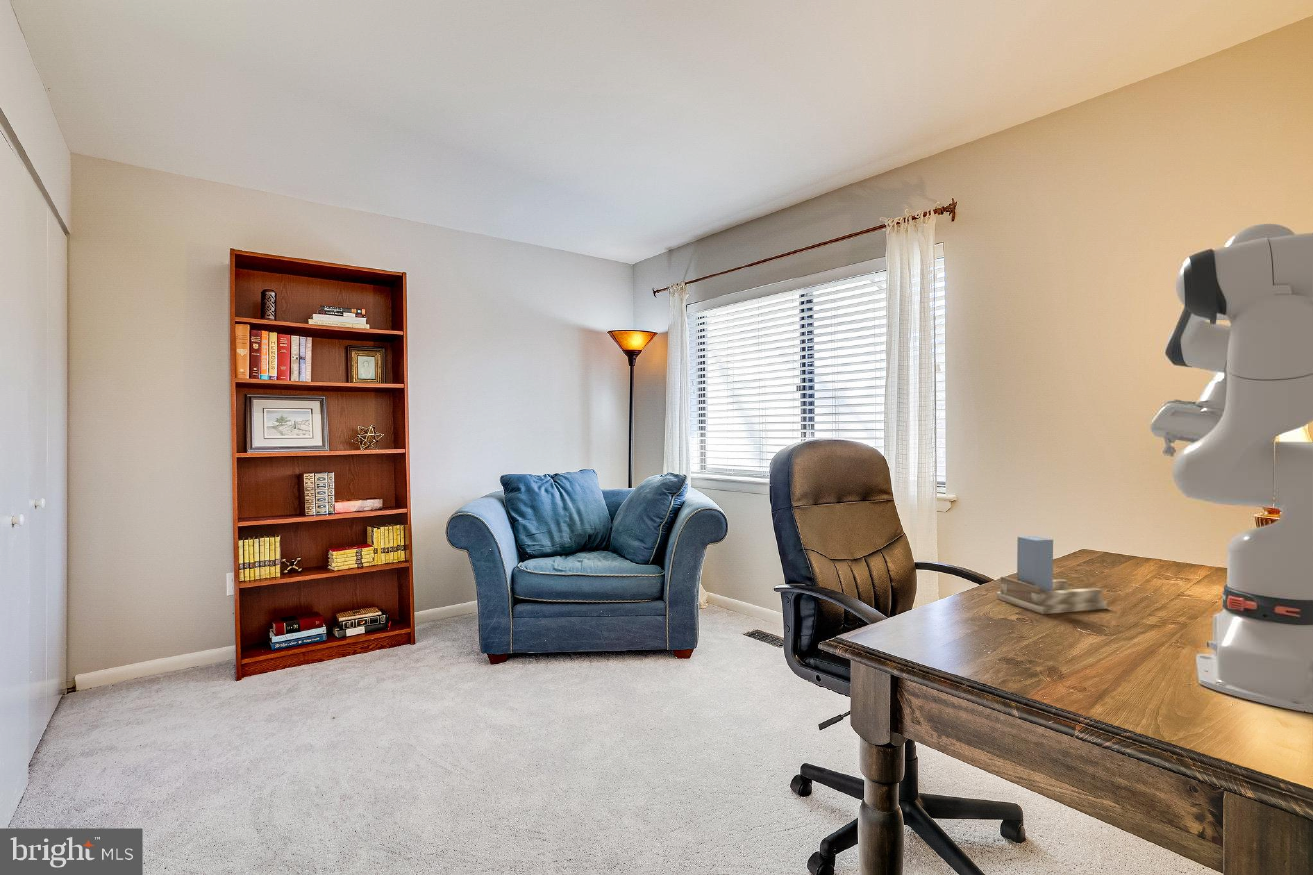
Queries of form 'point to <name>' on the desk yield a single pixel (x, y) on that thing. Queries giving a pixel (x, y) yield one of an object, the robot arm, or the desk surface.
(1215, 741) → the desk surface
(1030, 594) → the shallow wooden tray
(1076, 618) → the desk surface
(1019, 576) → the slate block
